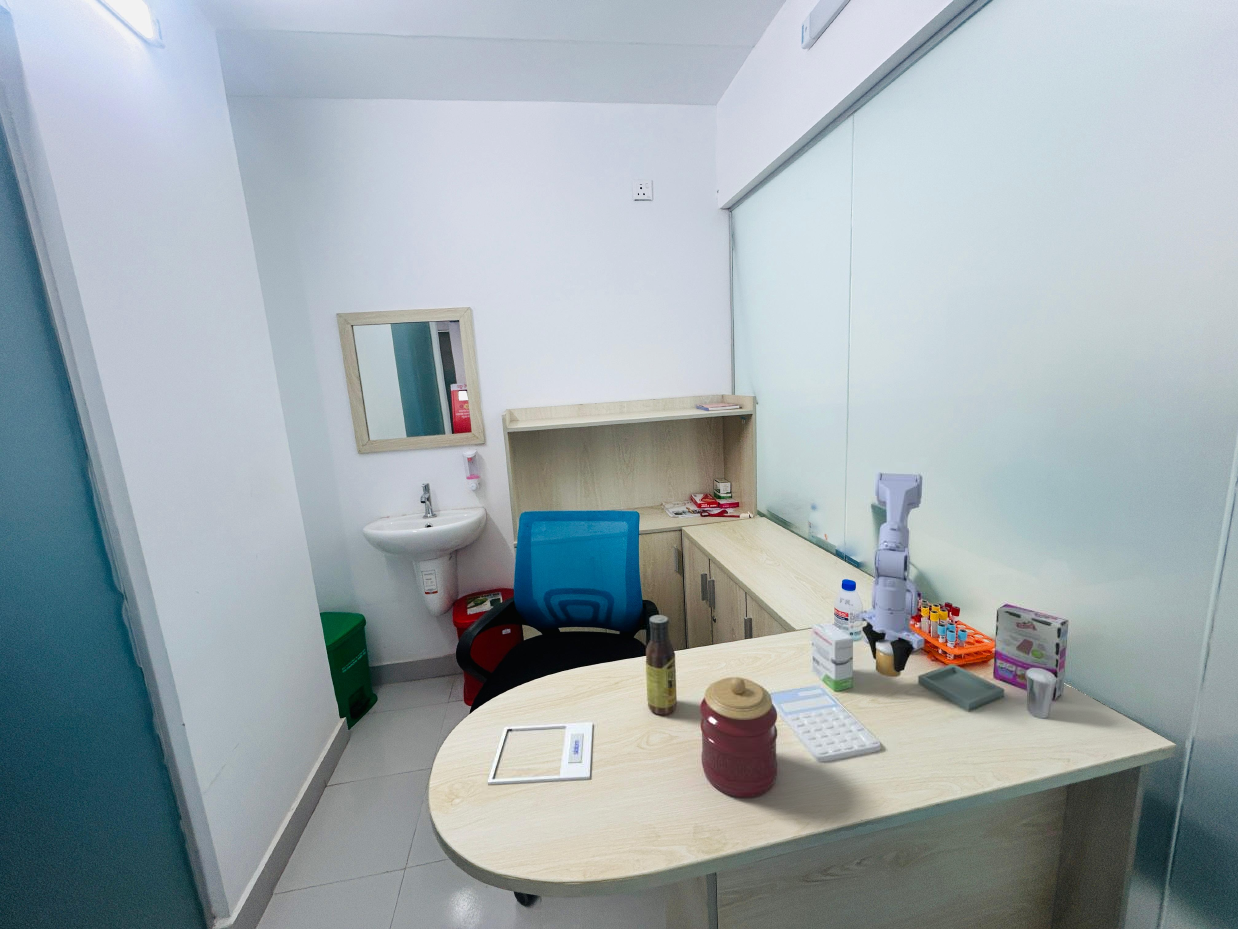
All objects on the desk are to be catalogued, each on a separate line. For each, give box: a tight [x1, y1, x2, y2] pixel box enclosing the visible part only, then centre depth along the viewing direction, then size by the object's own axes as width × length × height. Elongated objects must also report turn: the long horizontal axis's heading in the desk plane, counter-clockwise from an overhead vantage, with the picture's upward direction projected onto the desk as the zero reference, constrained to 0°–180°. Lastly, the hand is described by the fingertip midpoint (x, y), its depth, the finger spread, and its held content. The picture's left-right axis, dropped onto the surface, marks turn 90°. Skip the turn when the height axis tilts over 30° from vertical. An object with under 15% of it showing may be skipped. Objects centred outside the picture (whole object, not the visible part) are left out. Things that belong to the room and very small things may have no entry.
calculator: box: [768, 684, 882, 763], centre depth 101 cm, size 13×20×2 cm, turn 11°
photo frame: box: [487, 721, 594, 786], centre depth 96 cm, size 15×1×18 cm
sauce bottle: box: [645, 614, 677, 716], centre depth 106 cm, size 7×6×20 cm
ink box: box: [811, 622, 854, 692], centre depth 114 cm, size 9×5×12 cm, turn 14°
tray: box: [917, 663, 1005, 712], centre depth 108 cm, size 11×11×2 cm
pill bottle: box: [875, 639, 902, 678], centre depth 109 cm, size 5×5×6 cm
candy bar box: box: [992, 603, 1069, 702], centre depth 108 cm, size 11×5×16 cm, turn 33°
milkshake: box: [1026, 668, 1063, 719], centre depth 99 cm, size 4×5×10 cm
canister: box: [699, 676, 778, 799], centre depth 88 cm, size 13×13×18 cm
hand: (888, 664), depth 110 cm, fingers closed on pill bottle, 5 cm apart
